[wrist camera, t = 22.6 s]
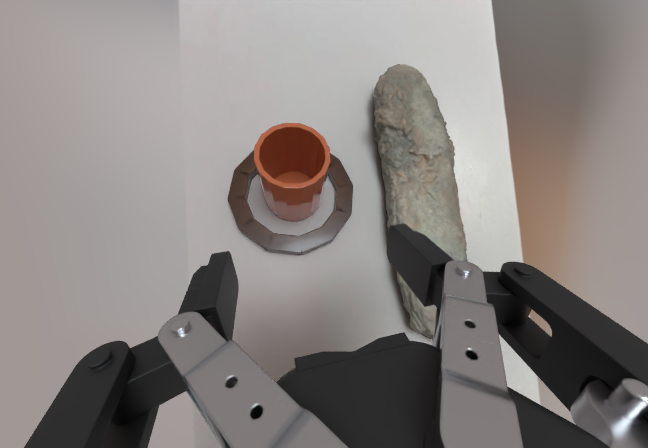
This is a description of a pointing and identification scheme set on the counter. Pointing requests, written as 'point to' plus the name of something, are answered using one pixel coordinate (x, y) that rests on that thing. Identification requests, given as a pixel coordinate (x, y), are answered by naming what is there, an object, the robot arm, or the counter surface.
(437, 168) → the elongated rock
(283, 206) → the cup
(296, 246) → the ring
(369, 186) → the counter surface
